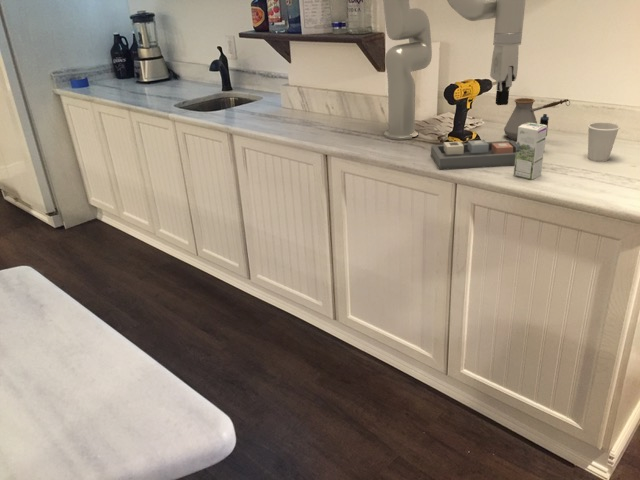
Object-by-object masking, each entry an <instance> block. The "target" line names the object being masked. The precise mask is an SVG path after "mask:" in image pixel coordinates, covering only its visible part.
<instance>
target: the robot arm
mask: <svg viewBox="0 0 640 480" xmlns="http://www.w3.org/2000/svg"><path fill="white" fill-rule="evenodd" d="M382 1H383V11H384V21H385V29H386V34H387V36H388V38H389V39H391V40H392V41H404V40H408V42H407V43H401V44H396V45H394V46H392V47H390V48H388V50H387V52H386V53H385V56H384V65H385V70H386V74H387V75H386V77H387V93H388V94H387V95H388V96H387V98H388V99H387V100H388V103H387V104H388V107H387V109H388V111H387V112H388V115H387V116H388V117H387V118H388V119H387V120H388V121H387V122H388V123H387V124H388V127H387V128H388V129H387V130H385V131H384V133H383V136H384V137H385V138H387V139H391V140H399V141H403V140H412V139H413V138H412V135H410V134H412V133H413V132H414V131H415V129H416V126H415V125H416V120H415V119H416V84H415V80H414V78H413V75H412V72H416V71H420V70H423V69H427V68H428V66H429V65H430V64H431V61H432V58H433V51H432V50H433V49H432V48H433V47H432V38H431V36H432V35H431V23H430V19H429V16H428V15H427V13H426V12H425V11H424V10H423V9H421V8H417V7H415V8H414V7H413V8H411V7H410V0H382ZM446 1H447V3H448V5H449V6H450V7H451V8H452V9H453V10H454V11H455V12H456V13H457V14H459V16H461V17H462V18H464V19H465V20H467V21H471V22H476V21H478V22H479V21H482V20H491V19H494V22H495V23H494V31H493V52H492V58H491V64H490V78H491V79H493V80H494V81H496V94H495V104H496V105H497V106H508V104H509V99H510V98H509V97H510V89H511V87H512V86H513V82H515V81H516V80H517V77H518V69H519V68H518V67H519V47H520V45H522V39H523V28H524V19H525V10H526V0H446Z"/></svg>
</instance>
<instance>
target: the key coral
mask: <svg viewBox="0 0 640 480" xmlns="http://www.w3.org/2000/svg"><path fill="white" fill-rule="evenodd" d="M491 151H492V152H493V153H494V154H500V153H513V146H512V145H510V144H509V143H492V150H491Z"/></svg>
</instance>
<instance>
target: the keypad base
mask: <svg viewBox="0 0 640 480" xmlns="http://www.w3.org/2000/svg"><path fill="white" fill-rule="evenodd" d="M486 142H487V143H488V144H489V148H488V152H482V153H471V152H470V151H469V149H468V142H466V143H465V142H463V143H462V144H463V146H464V152H463V154H449V155H447V154H446V153H445V151H444V144H433V145H431V146H430V147H431V148H430V157H431V158H432V160H433V161H434V164H435V165H436V166H437V168H438V170H439V171H445V170H446V171H447V170H460V169H463V170H464V169H478V168H495V167H511V166H513V167H515V156H516V146H517V142H516V141H515V140H499V141H498V140H497V141H486ZM492 143H509V144H510V145H512V146H513V153H500V154H494V153H493V152H492V151H491V150H492Z"/></svg>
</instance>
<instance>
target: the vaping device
mask: <svg viewBox="0 0 640 480" xmlns="http://www.w3.org/2000/svg"><path fill="white" fill-rule="evenodd" d="M542 114H543V113H542ZM539 121H540V122H539V124H542V125H547V129H548V127H549V116H548V114H547V113H544V114H543V115H542V116H541V117H540V120H539ZM547 136H548V130H547V131H546V137H547ZM545 147H546V145H545V146H544V148H545Z"/></svg>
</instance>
